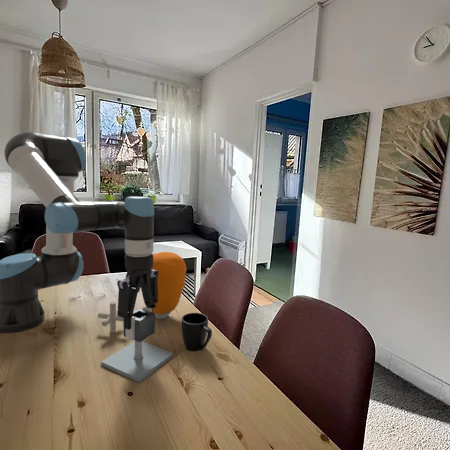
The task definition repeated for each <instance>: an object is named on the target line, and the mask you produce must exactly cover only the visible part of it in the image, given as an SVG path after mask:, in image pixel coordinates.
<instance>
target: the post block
mask: <svg viewBox="0 0 450 450" xmlns="http://www.w3.org/2000/svg"><path fill="white" fill-rule="evenodd" d="M173 357H174V353H173V352H171V351H169V350H165V349H163V348H161V347H157V346H155V345H153V344H150V343H147V342H144V341H141V342H138V341H135V340H134V341H132V343H130V344H128V345H127V346H125V347H123V348H122V349H120V350H118V351H117V352H115V353H114V354H112V355H111V354H110V356H108V357H107V358H105V359H103V360H101V361H100V365H101V366H103V367H104V368H106V369H109V370H110V371H111V370H112V371H113V372H115V373H118V374H120V375H122V376H124V377H126V378H129V379H131V380H133V381H135V382H136V383H141V382H142V381H143V380H145V379H146V378H148V377H149V375H151V374H152V373H153V372H154V371H156V370H158V369H159V368H160V367H161V366H163V365H164V364H165V363H166V362H168V361H169V360H170V359H171V358H173Z"/></svg>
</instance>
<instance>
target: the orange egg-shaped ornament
mask: <svg viewBox="0 0 450 450" xmlns="http://www.w3.org/2000/svg"><path fill="white" fill-rule="evenodd" d="M152 254H153V267H152V268H151V269H152V270H157V271H159V273H158V278H157V280H158V303H155V305H156V307H155V308H153V313H155V319H157V320H162V319H163V320H164V319H166V318H167V317H168V316H169V315H170V314H171V313H172V312H173V311H174V310H175V309H176V308H177V307H178V305H179V303H180V299H181V296H182V293H183V290H184V288H185V284H186V283H185V282H186V281H185V280H186V275H187V264H186V262H185V260H184V258H183V257H182V256H180V255H178V254H177V253H175V252H171V251H170V252H169V251H160V252H154V253H152ZM153 298H154V297H153Z"/></svg>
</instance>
